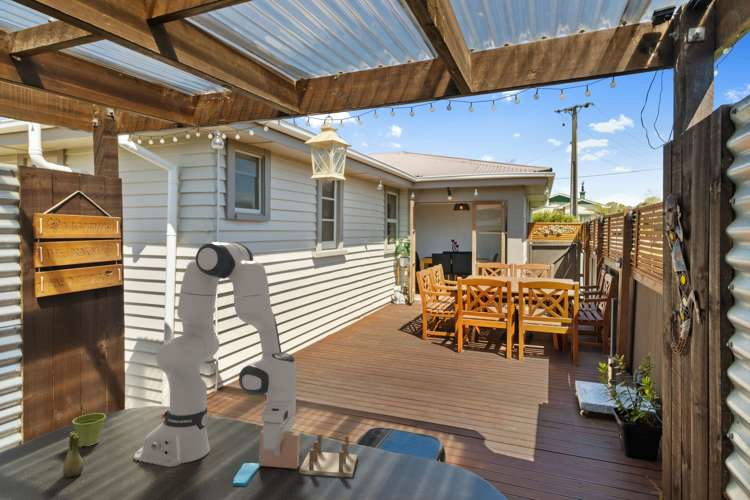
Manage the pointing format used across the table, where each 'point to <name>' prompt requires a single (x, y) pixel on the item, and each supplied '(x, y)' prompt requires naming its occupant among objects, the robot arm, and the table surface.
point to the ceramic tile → (282, 452)
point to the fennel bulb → (73, 458)
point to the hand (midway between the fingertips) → (279, 451)
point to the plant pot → (89, 428)
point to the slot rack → (329, 461)
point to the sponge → (245, 474)
